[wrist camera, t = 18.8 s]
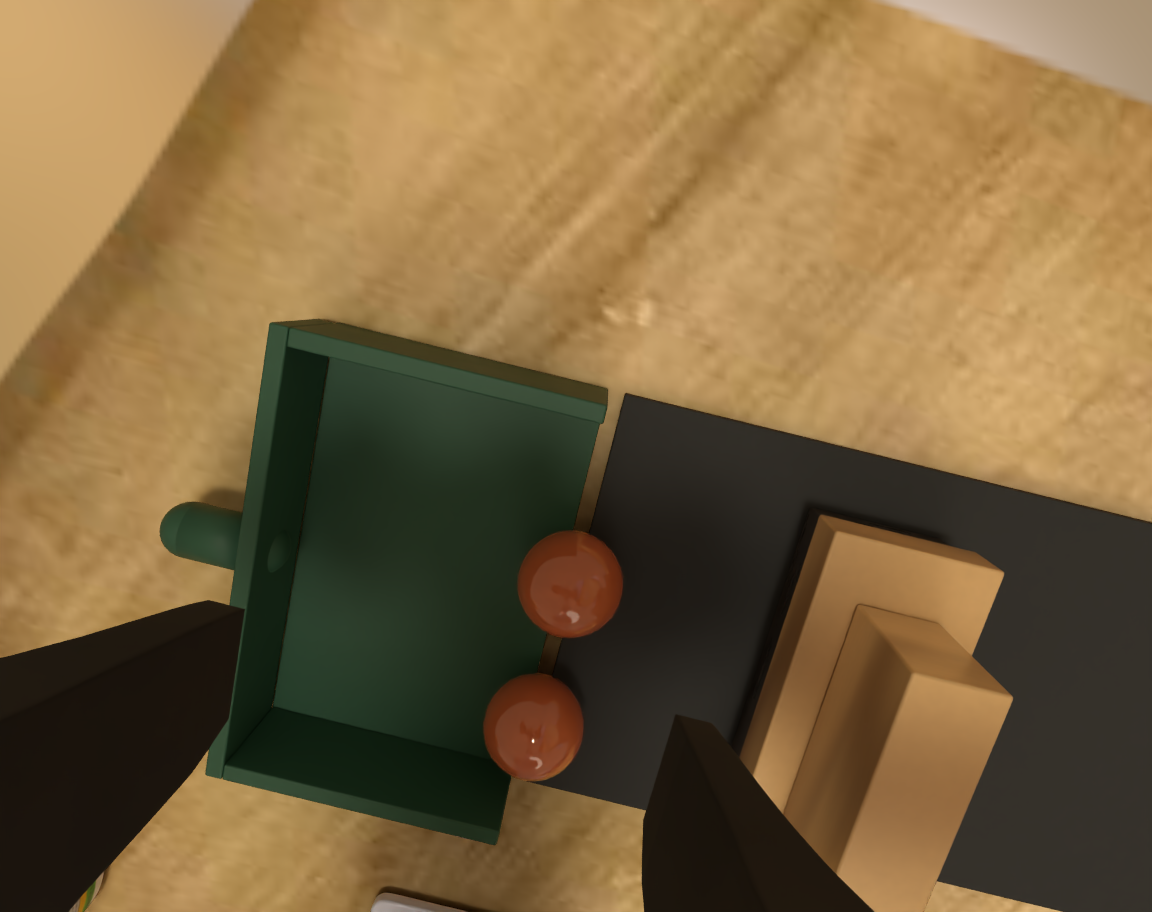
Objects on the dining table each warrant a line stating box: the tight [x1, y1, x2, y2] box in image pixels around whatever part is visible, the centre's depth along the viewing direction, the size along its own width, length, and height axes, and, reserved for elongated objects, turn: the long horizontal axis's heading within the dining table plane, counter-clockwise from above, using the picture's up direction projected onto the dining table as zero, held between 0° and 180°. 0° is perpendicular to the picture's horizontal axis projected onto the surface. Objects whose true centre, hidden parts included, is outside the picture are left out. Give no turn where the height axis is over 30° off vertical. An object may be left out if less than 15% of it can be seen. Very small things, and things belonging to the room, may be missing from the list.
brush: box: [731, 508, 1013, 912], centre depth 19 cm, size 10×4×6 cm, turn 166°
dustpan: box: [160, 319, 608, 845], centre depth 21 cm, size 11×13×3 cm
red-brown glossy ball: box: [483, 673, 585, 781], centre depth 21 cm, size 3×3×3 cm
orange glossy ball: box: [517, 530, 624, 639], centre depth 20 cm, size 3×3×3 cm
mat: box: [527, 393, 1152, 912], centre depth 22 cm, size 13×26×1 cm, turn 76°
